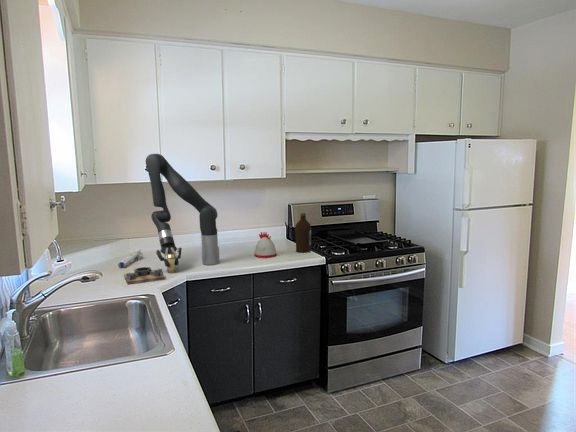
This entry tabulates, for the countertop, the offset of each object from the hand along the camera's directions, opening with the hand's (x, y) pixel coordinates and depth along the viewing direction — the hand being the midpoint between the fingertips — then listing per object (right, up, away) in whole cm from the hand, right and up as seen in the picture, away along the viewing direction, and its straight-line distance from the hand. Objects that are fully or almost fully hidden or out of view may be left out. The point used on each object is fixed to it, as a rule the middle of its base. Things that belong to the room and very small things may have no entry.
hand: (172, 265), depth 221 cm
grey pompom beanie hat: (+48, +1, +38) cm, 61 cm away
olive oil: (+72, +3, +48) cm, 87 cm away
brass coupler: (-1, -4, +2) cm, 5 cm away
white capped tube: (-31, -2, +25) cm, 40 cm away
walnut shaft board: (-12, -5, -8) cm, 16 cm away
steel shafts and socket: (-13, -4, -8) cm, 15 cm away
